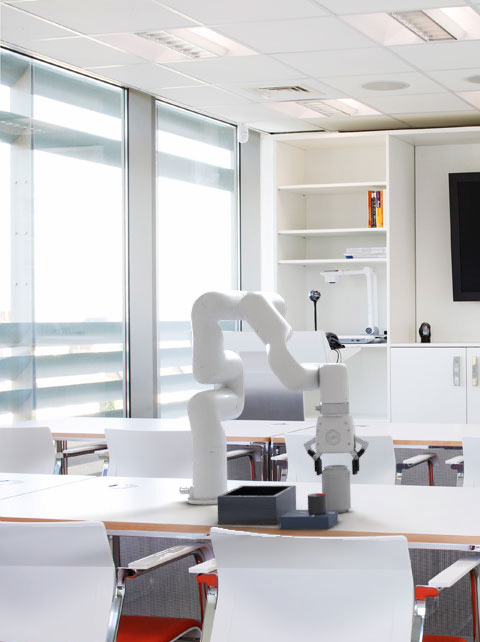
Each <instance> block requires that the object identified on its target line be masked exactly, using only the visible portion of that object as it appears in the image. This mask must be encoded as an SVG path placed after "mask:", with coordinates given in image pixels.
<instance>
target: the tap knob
mask: <svg viewBox="0 0 480 642" xmlns="http://www.w3.org/2000/svg"><path fill="white" fill-rule="evenodd" d="M307 510H308V514H311V515H320V514H325V513H326V493H322V492H321V493H320V492H316V493H315V492H314V493H309V494H307Z"/></svg>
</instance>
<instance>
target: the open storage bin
mask: <svg viewBox="0 0 480 642" xmlns="http://www.w3.org/2000/svg"><path fill="white" fill-rule="evenodd" d="M217 500H218V504H217V525H230V526H231V525H233V526H234V525H236V526H237V525H241V526H243V525H245V526H249V525H251V526H252V525H253V526H254V525H255V526H276V525H279V524H280V516H282V515H284V514H285V513H287V512H288V511H290V510H297V485H244V484H243V485H239V486H237V487H235V488H233V489H231V490H228V492H226V493H224V494H222V495H220V496H218V497H217Z"/></svg>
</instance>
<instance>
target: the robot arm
mask: <svg viewBox="0 0 480 642" xmlns="http://www.w3.org/2000/svg"><path fill="white" fill-rule="evenodd" d="M286 314H287V303H286V301H285V300H284V298H283V297H282V296H281V295H280V294H279V293H276V292H274V291H273V292H271V291H250V290H249V291H248V290H247V291H246V290H233V289H231V290H230V289H212V290H207V291H204V292H201V293H200V294H199V295H197V297H195V298H194V300H193V302H192V304H191V307H190V311H189V317H190V326H191V336H192V337H191V340H192V341H191V343H192V344H191V355H192V356H191V364H192V365H191V366H192V368H191V369H192V376H193V379H194V380H195V381H196V382H197V383H199V384H200V385H216V388H207V389H202V390H198V391H196V392H194V393H193V394H192V395H190V396H189V399H188V401H187V404H186V407H187V408H186V411H187V417H188V421H189V426H190V433H191V434H190V436H191V468H192V470H191V471H192V472H191V473H192V475H191V476H192V485H190V486H180V487H179V490H178V491H179V494H180V495H188V497H187V499H186V501H187V503H188V504H191V505H218V500H217V497H218V496H220V495H222V494H224V493H226V492H228V491H229V490H228V447H227V435H226V432H225V431H226V430H225V429H224V426H223V424H222V422H228V421H232V420H236V419H238V418H239V417H240V416H241V415H242V413H243V411H244V408H245V400H246V399H245V393H246V392H245V366H244V362H243V360H242V358H241V356H240V355H239V354H238V353H237V352H235V351H232V350H229V349H224V333H223V330H222V328H221V326H220V323H219V321H245V322H246V323H247V324H248V326H249V327H250V328H251V330H252V331H254V333H255V334H256V335H257V337H258V338H259V339H260V341H261V342H262V343H263V344H264V346H265V347H266V357H267V362H268V365H269V368H270V370H271V372H273V374H274V375H275V377H276V378H277V379H278V380H279V382H280V383H281V384H282V385H283V386H284V387H285V388H286V389H287V390H289V391H291V392H294V393H300V392H301V393H302V392H311V391H319V400H320V401H319V405H315V407H314V410H315V411H316V412H319V413H320V414H319V415H317V417H316V424H315V437H313V438H312V439H309V440H308V441H306V442H305V443H303V447H304V449H305V451H306V453H307V455H309V457H310V458H312V460H313V462H314V466H313V467H314V472H315V474H316V476H322V472H323V461H322V460H323V459H322V458H321V457H322V456H323V454H350V456H351V457H352V460H351V470H352V471H351V473H352V475H353V476H356V475H357V474H359V473H358V472H359V471H360V459H361V457H362V456H363V455H364V454H365V453H366V451H367V449H368V447H369V444H370V443H369V442H370V441H367V440H365V439H364V438H361V437H360V436H357V435H356V428H355V422H354V417H353V414H352V413H350V391H349V388H350V387H349V366H348V365H347V364H346V363H344V362H326V363H325V362H324V363H323V362H317V361H316V362H315V361H314V362H298V361H297V359H296V358H295V357H294V355H292V353H291V351H290V350H289V348H288V346H287V343H289V341H290V340H291V338H292V337H293V334H294V330H293V328H292V326H291V325H290V324H289V323H288V322H287V320H286V319H285V317H286ZM314 444H315V451H314V449H313V448H312V446H313V445H314ZM357 444H359V445H361V447H360V449H359V450H357V449H356V448H357Z"/></svg>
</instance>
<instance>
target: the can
mask: <svg viewBox="0 0 480 642" xmlns="http://www.w3.org/2000/svg"><path fill="white" fill-rule="evenodd" d="M348 467H349V466H348V465H346V464H330V465H325V466H323V468H324V469H322V474H321V493H326V510H338V514H341V513H346V512H348V511H349V510H350V509H351V508H352V506H351V505H352V503H351V501H352V500H351V470H349V469H348Z"/></svg>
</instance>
